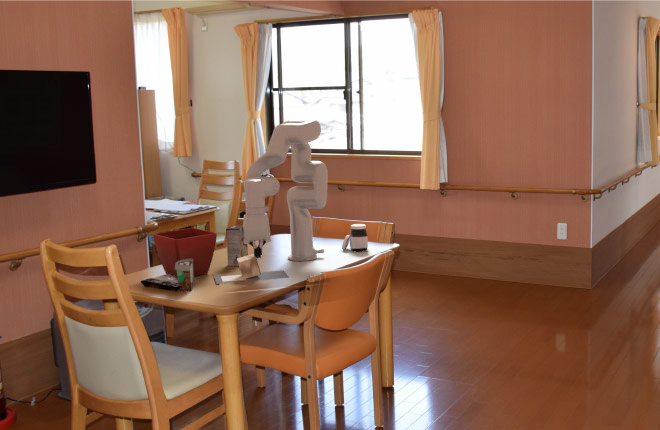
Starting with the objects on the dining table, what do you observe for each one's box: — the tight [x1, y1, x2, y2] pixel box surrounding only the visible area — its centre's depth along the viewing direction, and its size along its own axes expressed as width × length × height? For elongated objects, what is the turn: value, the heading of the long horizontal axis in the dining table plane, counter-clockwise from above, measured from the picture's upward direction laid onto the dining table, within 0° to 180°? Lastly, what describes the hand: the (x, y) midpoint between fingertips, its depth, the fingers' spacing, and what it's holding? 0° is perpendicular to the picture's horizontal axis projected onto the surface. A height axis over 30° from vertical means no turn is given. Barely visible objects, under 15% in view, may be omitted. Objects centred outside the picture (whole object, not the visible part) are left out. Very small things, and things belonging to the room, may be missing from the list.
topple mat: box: [213, 269, 290, 286], centre depth 288 cm, size 28×13×1 cm, turn 103°
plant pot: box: [152, 227, 217, 279], centre depth 298 cm, size 19×19×17 cm
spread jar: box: [341, 223, 369, 253], centre depth 335 cm, size 12×11×12 cm
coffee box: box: [225, 224, 249, 267], centre depth 314 cm, size 9×6×16 cm
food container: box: [175, 259, 195, 292], centre depth 275 cm, size 12×6×10 cm, turn 5°
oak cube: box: [237, 253, 261, 279], centre depth 287 cm, size 7×7×7 cm
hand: (258, 257), depth 288 cm, fingers closed
